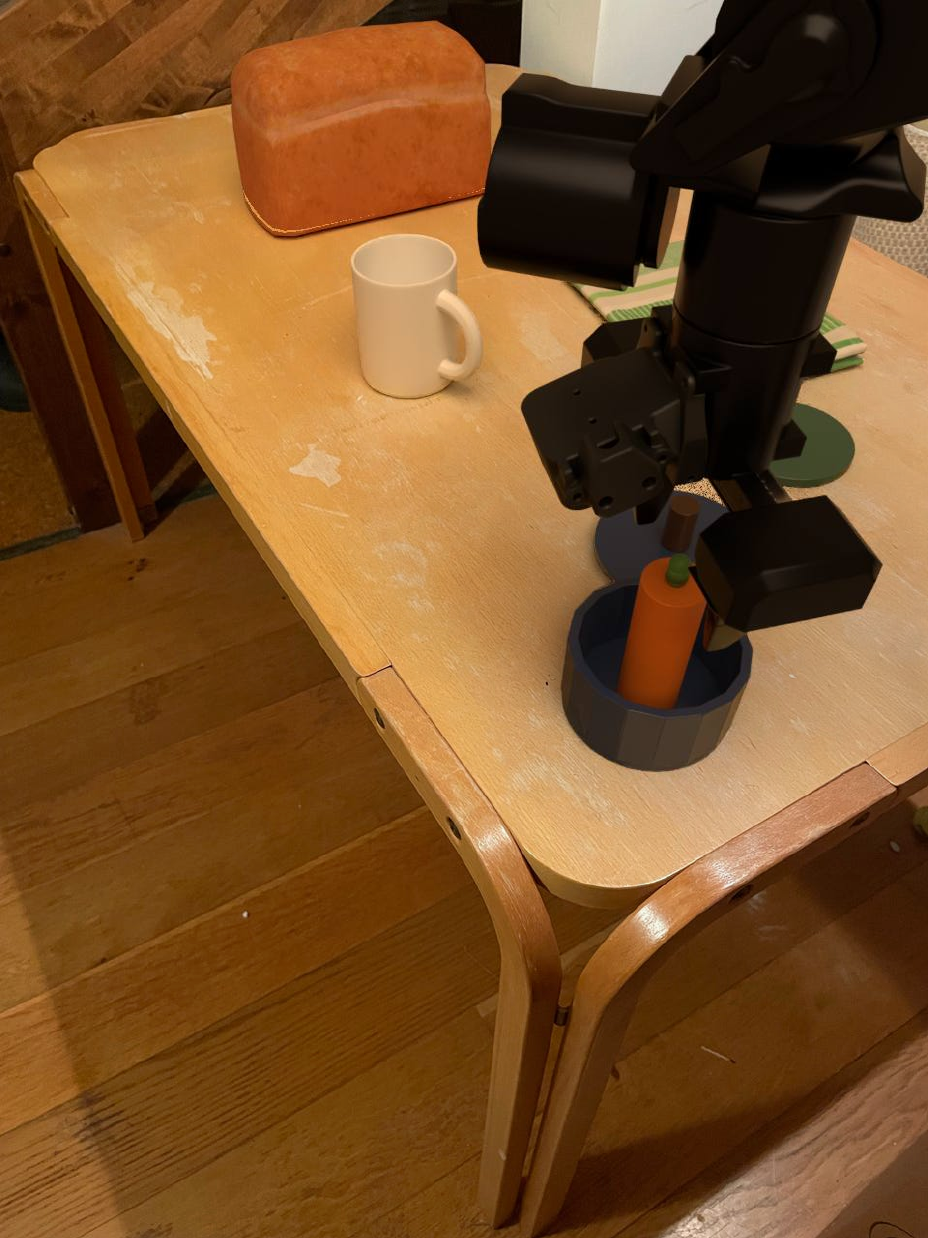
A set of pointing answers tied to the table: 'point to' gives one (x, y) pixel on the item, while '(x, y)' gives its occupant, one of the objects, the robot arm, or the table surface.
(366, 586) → the table surface
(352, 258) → the mug
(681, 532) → the lid
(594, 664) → the pot
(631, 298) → the dish towel
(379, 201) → the bread
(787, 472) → the saucer
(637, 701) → the carrot
